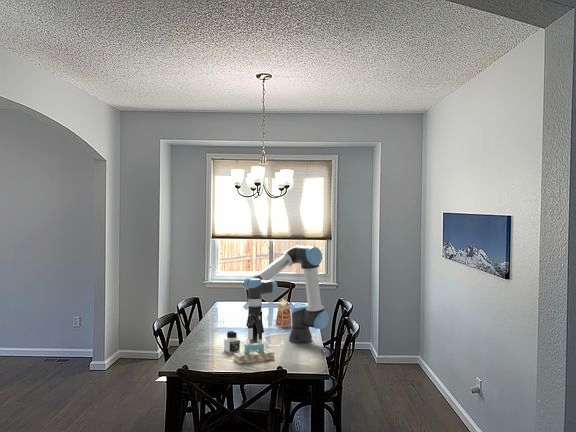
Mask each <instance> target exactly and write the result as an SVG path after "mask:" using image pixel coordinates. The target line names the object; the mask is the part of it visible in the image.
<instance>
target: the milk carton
mask: <svg viewBox="0 0 576 432" xmlns="http://www.w3.org/2000/svg"><path fill="white" fill-rule="evenodd" d="M275 325H276V327H279V328H287V327H292V312H291V306H290V303H289V301H287V300H285V299H284V298H281V301H280V302H279V303H278V307H277V313H276V320H275ZM275 325H274V326H275Z"/></svg>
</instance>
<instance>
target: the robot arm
mask: <svg viewBox="0 0 576 432" xmlns="http://www.w3.org/2000/svg"><path fill="white" fill-rule="evenodd" d="M322 260H323V253H322V251H321V249H320V248H318V247H317V246H314V245H300V244H299V245H294V246H293V247H290V248H289V249H287V250H286V251H284V252H282V253H281V255H280V257H278V258H277V259H275V260H274V261H272V263H270V264H269V265H268V266H267V267H265V268H263V269H262V270H261V271H259V272H258V273H257V274H256V275H254V276H252V277H246V278H245V279H244V282H243V288H244V289H245V290H247V291H248V292H247V293H248V299H247V302H248V313H247V314H248V316H247V319H246V325H245V326H246V327H247V340H253V338H254V327H253V326H254V324H255V328H256V330H257V331H256V332H257V333H256V335H257V336H256V343H257V345H262V343H263V334H264V333H265V330H264V324H263V318H262V317H263V316H262V315H260V313H262V295H266V294H272V293H275V292H277V291H278V283H277V281H276V280H274V279H273V278H274V277H275V276H276V275H278V274H279V273H281V272H282V271H283V270H285V269H286V268H288V267H291V266H293V265H294V264H300V267H301V270H303V273H304V282H305V290H306V291H305V292H306V298H307V305H296V306H293V307H292V309H291V330H290V333H289V337H288V340H289V342H290V343H295V344H306V343H307V344H308V343H310V342H313V337H312V333H311V330H310V328H312V329H316V330H323V329H324V328H325V327H326V326H327V325H328V323H329V319H330V316H329V313H328V312H327V311H325V306H324V305H322V299H321V291H320V282H319V281H320V280H319V273H318V269H319V267H320V264H321V263H322Z"/></svg>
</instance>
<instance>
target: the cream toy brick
mask: <svg viewBox="0 0 576 432" xmlns="http://www.w3.org/2000/svg"><path fill="white" fill-rule="evenodd" d="M255 350H256V351H252V352H250V354H249V355H246V354H245V351H239V352H233V361H235V362H236V363H237V364H246V363H252V362H263V361H271V360H275V351H274V350H271V349H269V348H268V349H267V348H264V353H260V354H259V349H255Z"/></svg>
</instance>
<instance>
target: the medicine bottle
mask: <svg viewBox="0 0 576 432" xmlns="http://www.w3.org/2000/svg"><path fill="white" fill-rule="evenodd" d="M240 345H241V340H240V339H239V338H238V332H237V331H235V330H228V331H227V333H226V338H225V339H223V347H224V348H223V351H224V352H227V353H229V354H232V353H233V354H234V353H240V352H241V351H240V349H241V346H240Z"/></svg>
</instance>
